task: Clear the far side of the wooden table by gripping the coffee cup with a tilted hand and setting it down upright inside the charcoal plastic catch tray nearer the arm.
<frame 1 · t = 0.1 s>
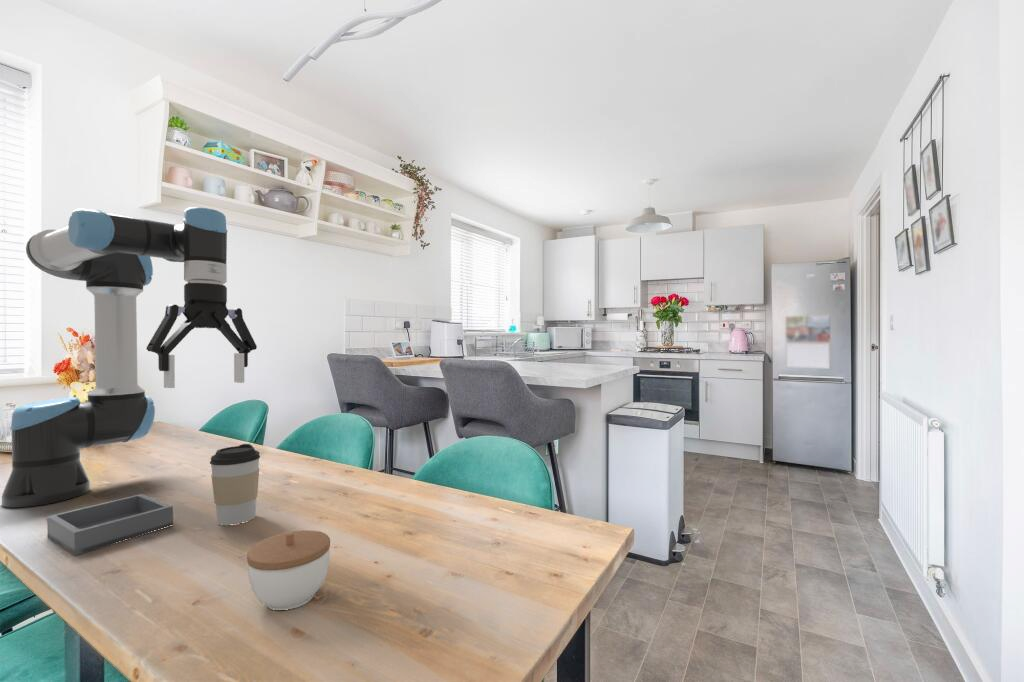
hand: (206, 385, 98), 28 cm above the table, tool pointing down, fingers open, 13 cm apart
lidded jar: (290, 600, 67), on the table
coffee cup: (236, 520, 98), on the table
catch tray: (112, 531, 92), on the table
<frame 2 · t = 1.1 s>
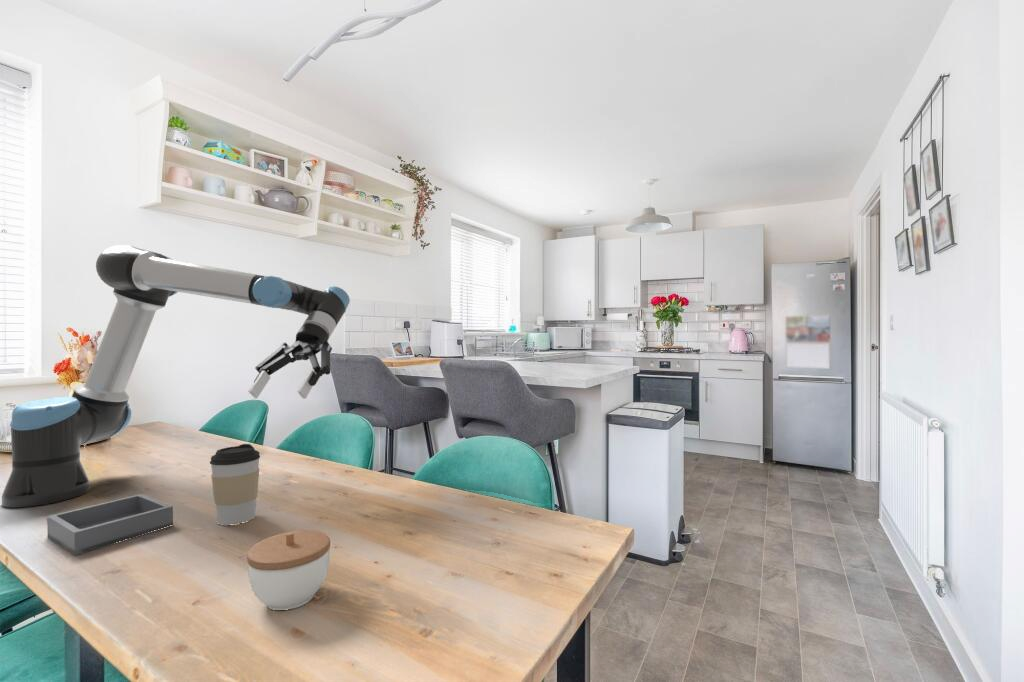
hand: (276, 395, 111), 24 cm above the table, tool tilted 45°, fingers open, 13 cm apart
nothing on the table moved.
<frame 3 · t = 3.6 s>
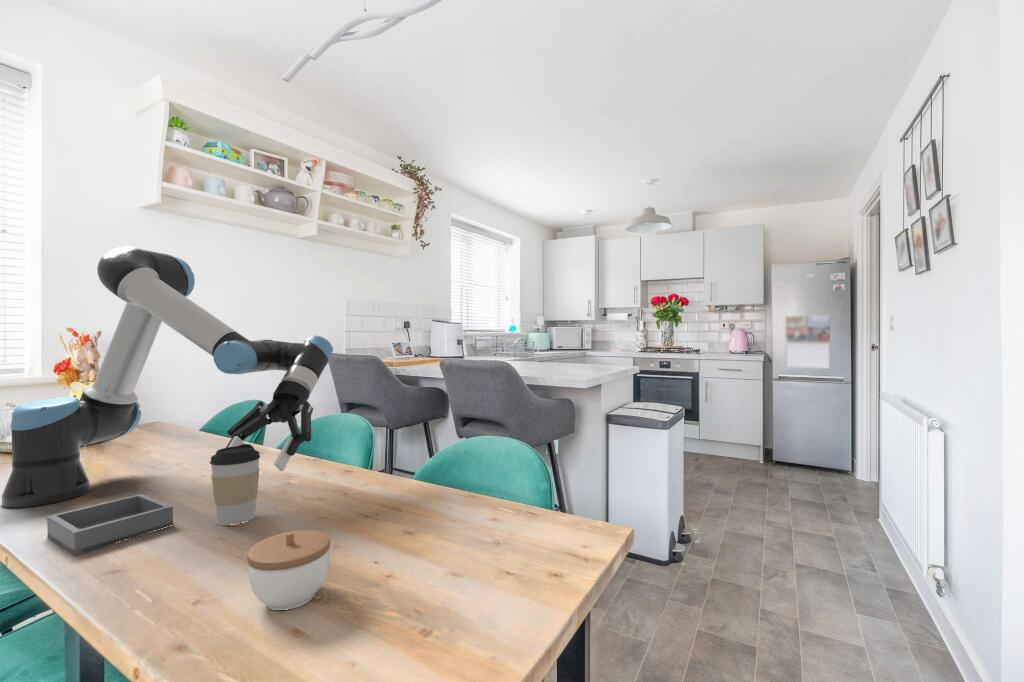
hand: (250, 466, 100), 10 cm above the table, tool tilted 45°, fingers open, 13 cm apart
nothing on the table moved.
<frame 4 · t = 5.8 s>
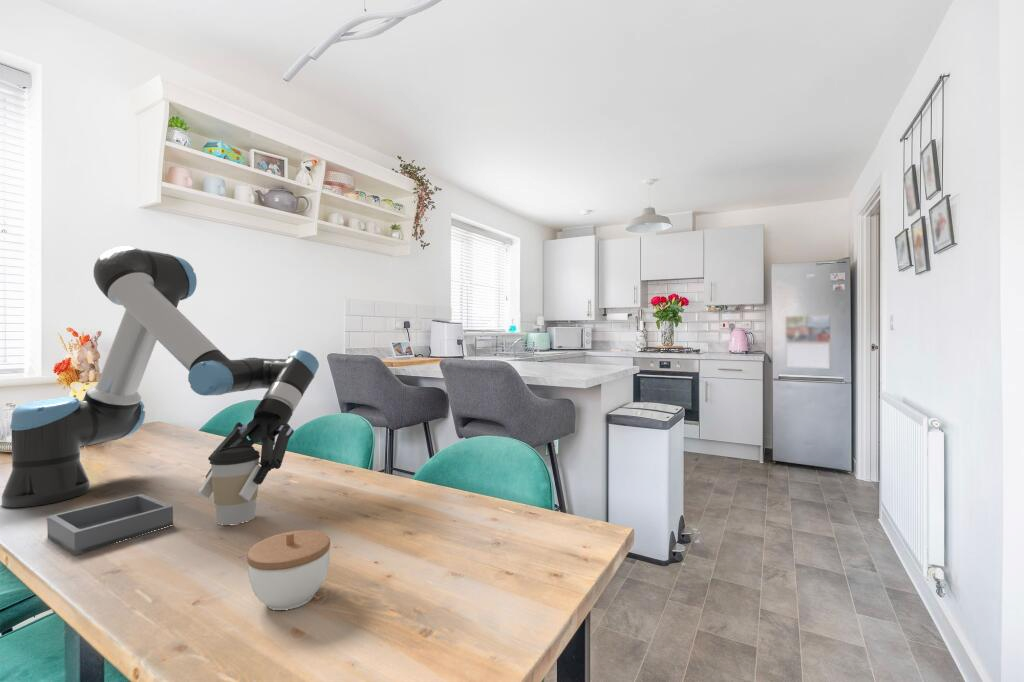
hand: (223, 496, 94), 6 cm above the table, tool tilted 45°, fingers closed on coffee cup, 9 cm apart
coffee cup: (236, 520, 98), on the table, touching gripper
everything else where it was.
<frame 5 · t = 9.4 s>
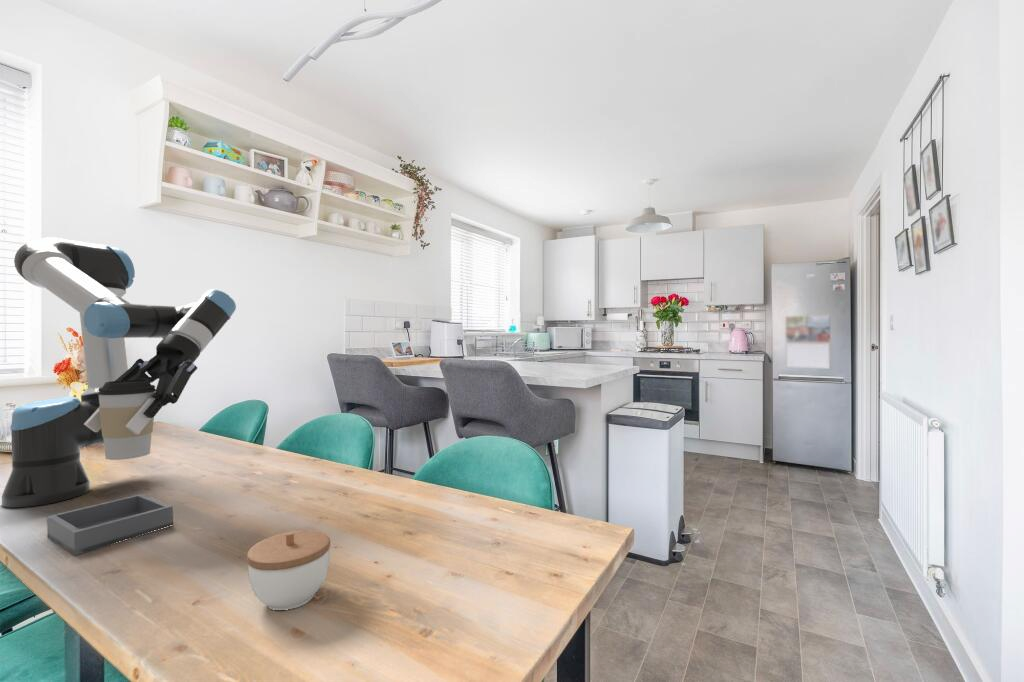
hand: (111, 429, 89), 21 cm above the table, tool tilted 45°, fingers closed on coffee cup, 9 cm apart
coffee cup: (128, 456, 92), point 15 cm above the table, touching gripper
everything else where it was.
when the fingers open (8 cm above the table, at t = 13.0 s): coffee cup drops 2 cm, resting on catch tray.
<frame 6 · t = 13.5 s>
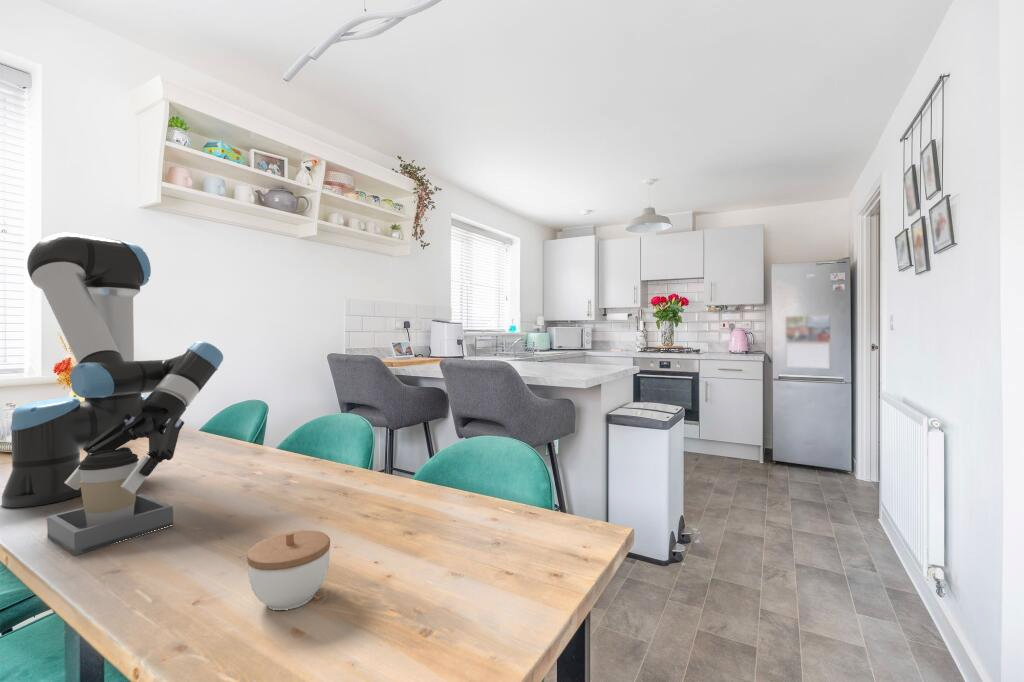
hand: (98, 488, 90), 9 cm above the table, tool tilted 45°, fingers open, 13 cm apart
coffee cup: (110, 528, 92), point 1 cm above the table, touching catch tray
everything else where it was.
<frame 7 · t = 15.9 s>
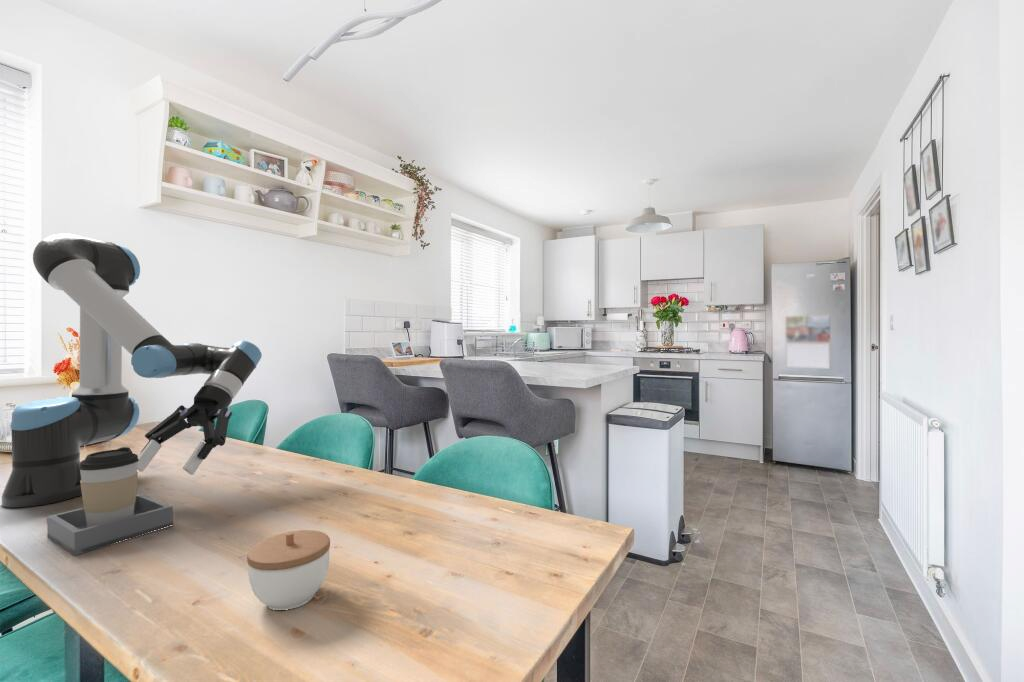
hand: (162, 470, 102), 9 cm above the table, tool tilted 45°, fingers open, 13 cm apart
nothing on the table moved.
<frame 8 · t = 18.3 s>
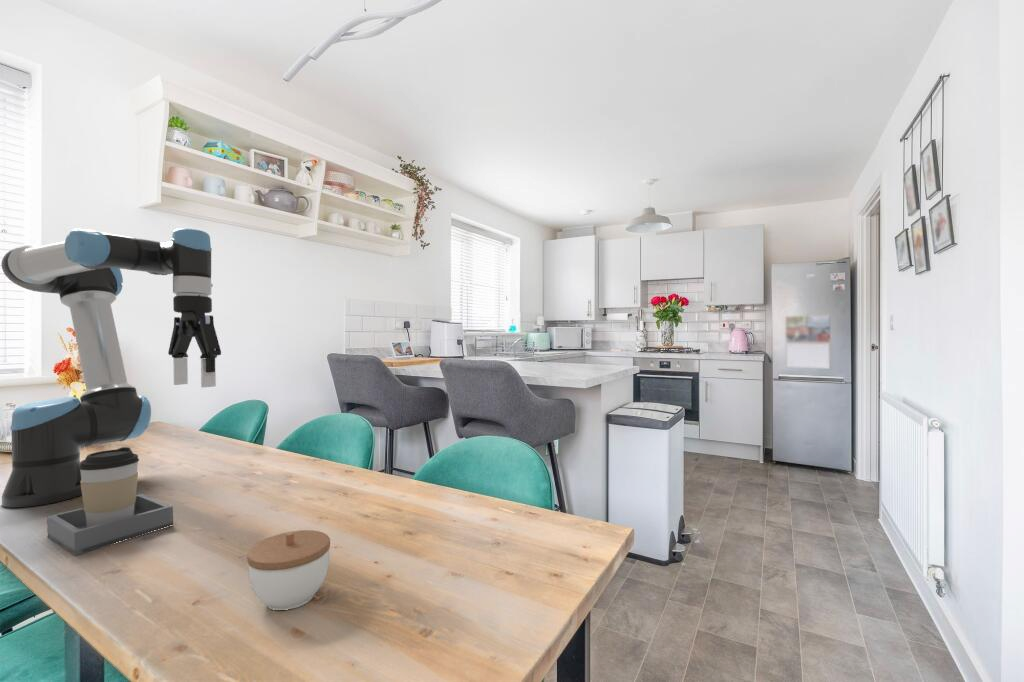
hand: (194, 385, 111), 27 cm above the table, tool pointing down, fingers open, 13 cm apart
nothing on the table moved.
at the end: coffee cup inside the target area on the catch tray (0.3 cm from its centre), point 0.6 cm above the catch tray's base; coffee cup tilted 0°; the gripper is holding nothing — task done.
